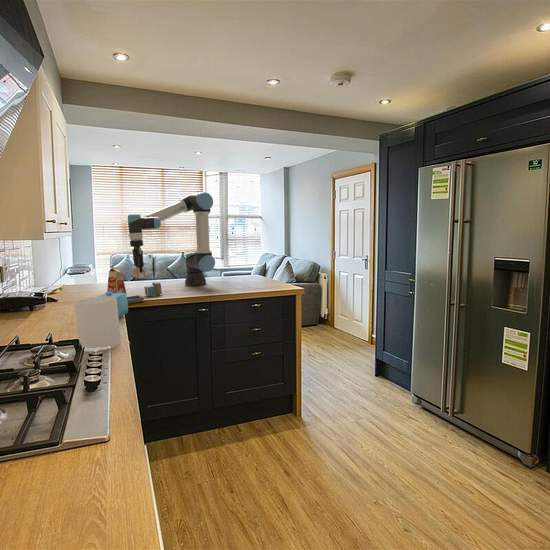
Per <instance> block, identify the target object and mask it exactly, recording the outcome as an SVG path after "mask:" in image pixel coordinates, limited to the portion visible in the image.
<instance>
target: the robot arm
mask: <svg viewBox="0 0 550 550" xmlns="http://www.w3.org/2000/svg"><path fill="white" fill-rule="evenodd" d="M213 206H214V198H213V197H212V195H211V194H210V193H208V192H205V191H200V192H199V191H198V192H193V193H190V194H189V195H186V196H184V197H182V198H180V199H179V200H178V201H177V202H175V203H172V204H170V205H168V206H166V207H163V208H161V209H158V210H155V211H153V212H151V213H149V214H147V215H144V216H141V214H140V213H138V214H137V213H135V214H133V213H132V214H128V215H127V225H128V232H129V233H128V237H129V246H130V247H133V249H132V250H131V251H132V258H133V259H132V260H133V265H134V266H135V267H134V268H138V274H139V279H145V278H144V275H143V268H144V266H145V265H144V263H145V262H144V255H143V254H144V252H143V250H142V249H141V247H143V246H144V238H143V230H157V229H160V228H161V225H162V222H164V221H167V220H168V219H171V218H172V217H176V216H177V215H180V214H182V213H185V214H186V213H187V212H188V213H189V212H191V211H193V212H192V213H193V214H194V215H195V229H196V231H195V232H196V234H195V235H196V250H195V252H189V253H186V254H185V269H186V275H185V280H184V284H185V286H187V287H195V286H196V287H198V286H203V285H206V284H207V280H206V277H205V275H204V273H209V272H211V271H212V270H213V269H214V268H215V265H216V260H215V258H214V256H213V252H212V250H210V225H209V224H210V223H209V220H210V219H209V214H211V209H212V207H213Z"/></svg>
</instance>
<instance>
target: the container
mask: <svg viewBox="0 0 550 550" xmlns="http://www.w3.org/2000/svg"><path fill="white" fill-rule="evenodd" d="M74 307H75V308H74V309H75V315H76V324H77V325H76V326H77V332H78V333H77V334H78V340H79V344H80V343H81V345H82V346H84V347H87V348H97V347H108V346H110V347H111V348H112V349H115V348H116V347H119V346H120V345H121V344H122V340H121V339H122V338H121V328H120V320H119V319H120V318H119V317H118V308H117V298H116V297H112V296H101V297H97V296H93V297H86V298H82V299H78V300H75V302H74Z"/></svg>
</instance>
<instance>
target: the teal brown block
mask: <svg viewBox="0 0 550 550" xmlns="http://www.w3.org/2000/svg"><path fill="white" fill-rule="evenodd" d="M162 291H163V290H162V283H161V282H158V281H153V282H152V284H151V285H145V286H144V295H146V296H145V297H147V296H150V297H152V296H151V295H159V296H161V295H160V294H162V295H163V292H162Z"/></svg>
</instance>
